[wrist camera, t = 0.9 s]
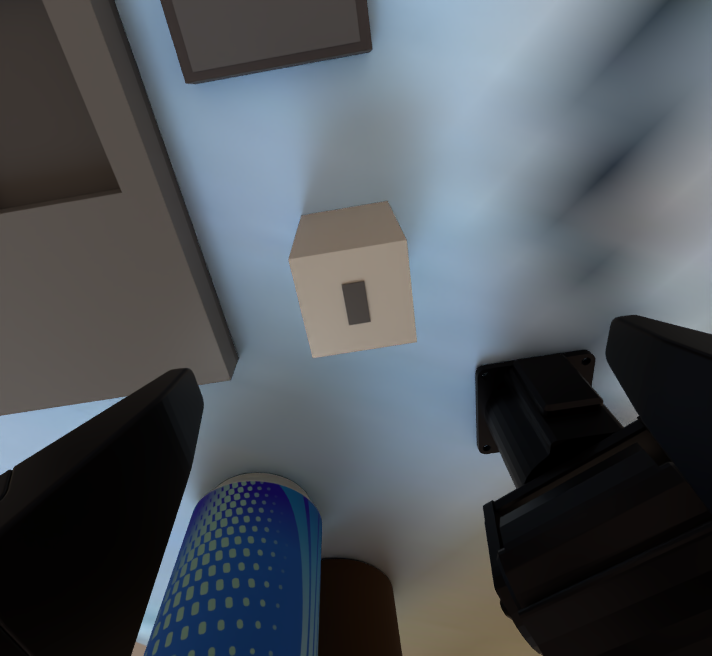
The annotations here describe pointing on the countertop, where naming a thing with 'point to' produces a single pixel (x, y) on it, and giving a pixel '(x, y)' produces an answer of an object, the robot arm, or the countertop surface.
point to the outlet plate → (91, 221)
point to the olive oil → (356, 611)
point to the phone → (263, 34)
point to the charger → (353, 279)
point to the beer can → (245, 574)
